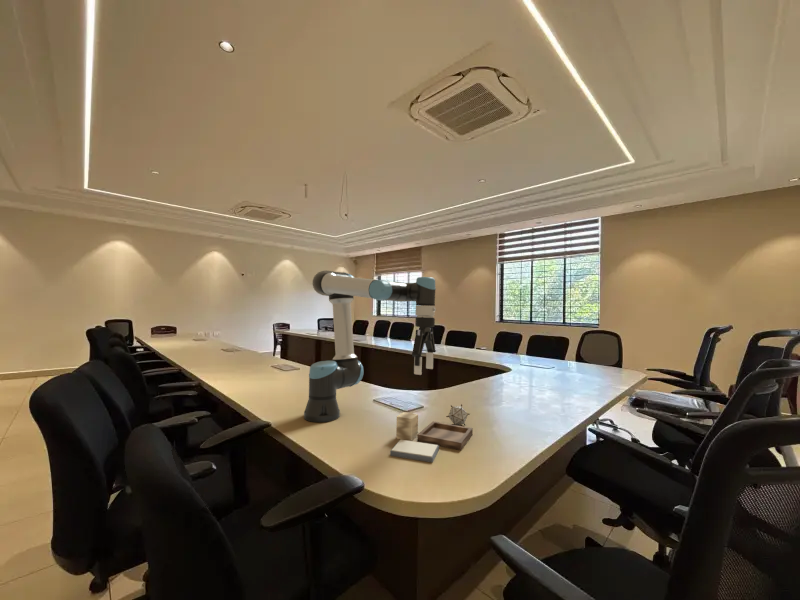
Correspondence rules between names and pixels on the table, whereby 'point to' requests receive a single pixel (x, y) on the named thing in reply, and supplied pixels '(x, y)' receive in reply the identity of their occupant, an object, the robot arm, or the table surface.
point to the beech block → (407, 426)
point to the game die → (458, 415)
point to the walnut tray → (445, 435)
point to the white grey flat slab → (415, 450)
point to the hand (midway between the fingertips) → (423, 371)
